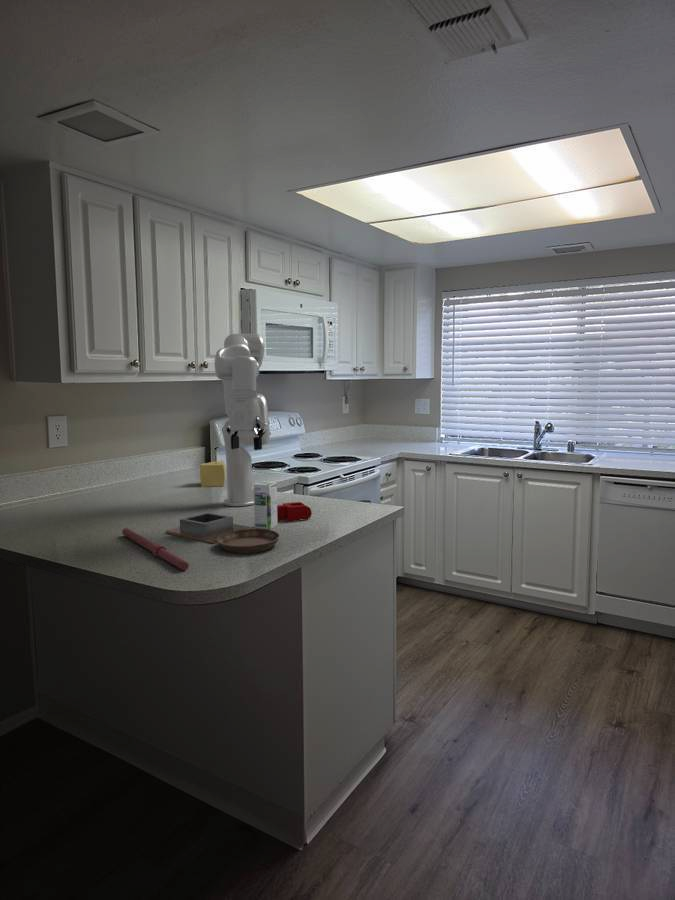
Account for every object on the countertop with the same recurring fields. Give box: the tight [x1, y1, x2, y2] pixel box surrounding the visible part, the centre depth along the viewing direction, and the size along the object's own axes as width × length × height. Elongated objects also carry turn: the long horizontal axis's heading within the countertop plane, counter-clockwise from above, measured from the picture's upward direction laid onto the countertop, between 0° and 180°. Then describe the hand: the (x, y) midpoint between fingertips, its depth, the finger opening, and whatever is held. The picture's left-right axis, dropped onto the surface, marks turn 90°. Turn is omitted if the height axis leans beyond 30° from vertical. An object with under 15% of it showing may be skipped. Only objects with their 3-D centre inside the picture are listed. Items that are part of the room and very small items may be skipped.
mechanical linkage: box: [277, 501, 312, 522], centre depth 209 cm, size 16×7×5 cm, turn 111°
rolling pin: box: [121, 527, 190, 571], centre depth 172 cm, size 45×3×3 cm, turn 37°
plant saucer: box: [217, 528, 281, 554], centre depth 177 cm, size 18×18×3 cm
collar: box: [165, 512, 259, 544], centre depth 193 cm, size 18×22×5 cm
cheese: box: [199, 461, 226, 488], centre depth 278 cm, size 10×11×10 cm
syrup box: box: [253, 481, 278, 530], centre depth 198 cm, size 6×6×14 cm
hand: (246, 449), depth 199 cm, fingers open, 9 cm apart
